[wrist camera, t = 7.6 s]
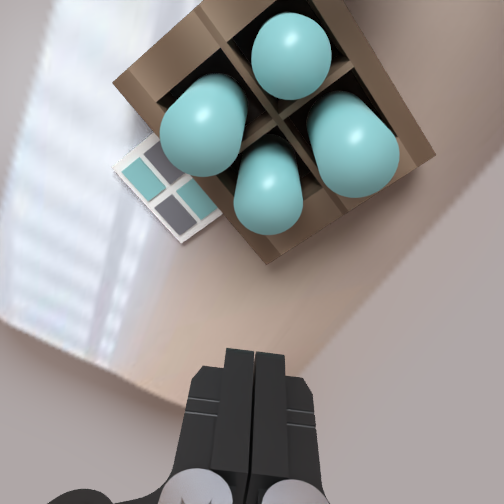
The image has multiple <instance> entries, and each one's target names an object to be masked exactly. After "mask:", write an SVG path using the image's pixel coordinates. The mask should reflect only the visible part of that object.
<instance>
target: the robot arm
mask: <svg viewBox="0 0 504 504" xmlns="http://www.w3.org/2000/svg"><path fill="white" fill-rule="evenodd" d="M315 427H316V423H315V415H314V404H313V394H312V393H311V391H310V389H309V387H308V386H307V384H306V383H305V381H304V379H303V378H300V377H291V376H285V356H284V355H281V354H273V353H265V352H257V351H256V354H255V360H254V351H248V350H240V349H231V348H226V355H225V362H224V368H217V367H209V366H203V367H202V368H201V369H200V370H199V371H198V373H197V374H196V375H195V376H194V377H193V378H192V381H191V385H190V390H189V395H188V400H187V404H186V409H185V414H184V419H183V423H182V428H181V433H180V437H179V442H178V447H177V451H176V456H175V461H174V465H173V469H172V472H171V474H170V476H169V477H168V479H167V481H166V482H165V483H164V484H163V485H162V486H161V487H160V488H158V489H157V490H156V491H155V492H153V493H151V494H149V495H147V496H145V497H143V498H138V499H135V500H130V501H125V502H120V503H115V504H330V503H329V502H328V500H327V498H326V496H325V494H324V491H323V488H322V482H321V472H320V462H319V453H318V443H317V433H316V429H315ZM48 504H113V503H112V502H111V500H110V499H109V498H108V497H107V496H105V495H104V494H103V493H101V492H98V491H96V490H91V489H78V490H73V491H69V492H66V493H64V494H62V495H60V496H58V497H57V498H55V499H54V500H52V501H51V502H49V503H48Z"/></svg>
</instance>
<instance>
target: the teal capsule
mask: <svg viewBox="0 0 504 504" xmlns="http://www.w3.org/2000/svg"><path fill="white" fill-rule="evenodd" d="M251 60H252V68H253V72H254V75H255V77H256V79H257V81H258V83H259V84H260V85H261V87H262V88H263V89H264V90H265V91H266V92H268V93H269V94H271V95H273V96H275V97H277V98H280V99H284V100H296V99H300V98H303V97H306V96H308V95H310V94H311V93H313V92H314V91H315V90H316V89H318V88H319V86H320V85H321V84H322V83H323V81H324V80H325V78H326V76H327V74H328V72H329V69H330V65H331V46H330V42H329V40H328V37H327V35H326V33H325V32H324V30H323V29H322V28H321V27H320V26H319V25H318V24H317V23H316V22H315V21H314V20H312V19H310V18H308V17H306V16H303V15H300V14H297V13H294V12H281V13H277V14H275V15H273V16H271V17H270V18H269V19H267V20H266V21H265V22H264V24H263V25H262V27H261V28H260V30H259V32H258V35H257V37H256V39H255V42H254V45H253V49H252V57H251Z"/></svg>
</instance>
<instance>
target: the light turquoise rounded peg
mask: <svg viewBox="0 0 504 504" xmlns="http://www.w3.org/2000/svg"><path fill="white" fill-rule="evenodd" d="M302 208H303V197H302V191H301V185H300V179H299V173H298V167H297V161H296V155H295V152H294V149H293V147H292V146H291V145H290V143H289V142H288V141H287V140H285V139H284V138H282V137H280V136H278V135H273V134H264V135H263V136H262V137H260V138H259V139H258V140H256V141H255V142H254V143H252V144H251V145H250V146H248V147H247V148H246V149H244V151H243V153H242V158H241V163H240V169H239V174H238V179H237V185H236V190H235V196H234V210H235V213H236V216H237V217H238V219H239V221H240V222H241V223H242V224H243V225H244V226H245V227H246V228H247V229H249V230H250V231H253V232H255V233H258V234H262V235H275V234H279V233H282V232H284V231H286V230H288V229H289V228H291V227H292V226H293V225H294V224H295V223H296V221H297V220H298V219H299V217H300V215H301V212H302Z"/></svg>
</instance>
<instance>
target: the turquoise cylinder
mask: <svg viewBox="0 0 504 504" xmlns="http://www.w3.org/2000/svg"><path fill="white" fill-rule="evenodd" d="M306 124H307V132H308V135H309V139H310V142H311V146H312V149H313V153H314V156H315V159H316V163H317V166H318V170H319V173H320V176H321V178H322V180H323V182H324V183H325V184H326V185H327V187H328V188H330V189H331V190H332V191H333V192H335V193H337V194H339V195H341V196H344V197H350V198H360V197H365V196H369V195H371V194H374V193H376V192H377V191H379V190H381V189H382V188H383V187H384V186H385V185H387V184H388V182H389V181H390V180H391V179H392V177H393V176H394V174H395V172H396V170H397V167H398V163H399V146H398V143H397V140H396V138H395V136H394V135H393V133H392V132H391V131H390V130H389V129H388V128H387V127H386V126H385V125H384V123H383V122H382V121H381V120H380V119H379V118H378V117H377V116H376V115H375V114H374V113H373V112H372V111H371V110H370V109H369V108H368V107H367V106H366V104H365V103H364V102H363V101H362V100H361V99H360V98H359V97H357V96H356V95H354V94H353V93H350V92H347V91H332V92H329V93H327V94H325V95H323V96H321V97H320V98H319V99H318V100H316V102H315V103H314V104H313V105H312V107H311V109H310V110H309V113H308V116H307V122H306Z"/></svg>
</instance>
